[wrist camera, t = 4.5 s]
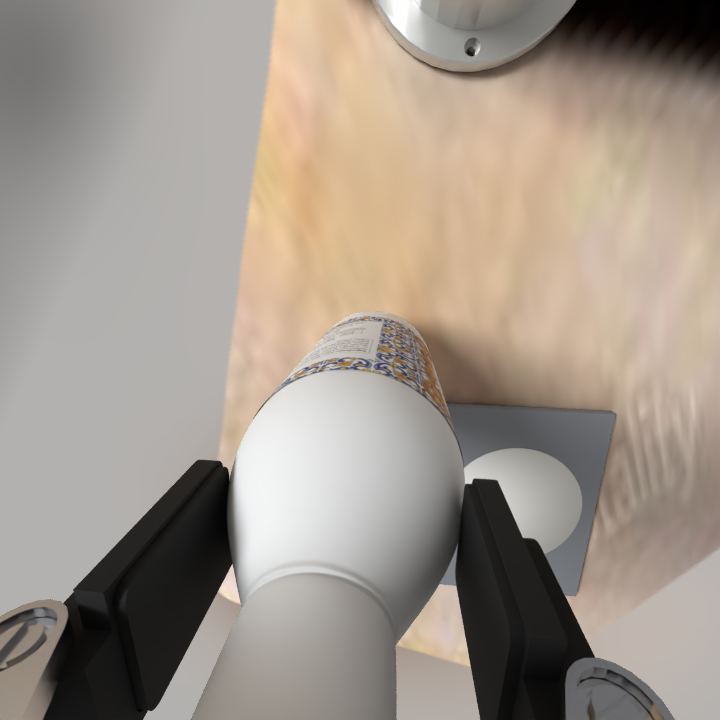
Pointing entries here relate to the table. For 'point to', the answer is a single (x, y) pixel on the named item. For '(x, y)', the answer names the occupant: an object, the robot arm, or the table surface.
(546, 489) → the rubber mat
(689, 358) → the table surface
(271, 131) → the table surface
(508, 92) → the table surface
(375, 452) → the bath foam
